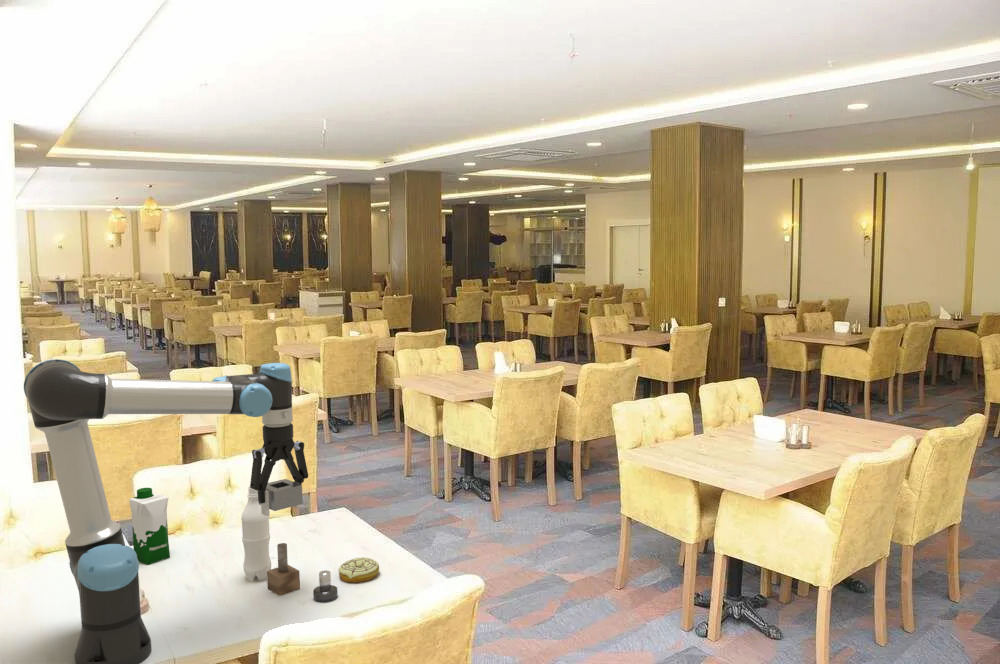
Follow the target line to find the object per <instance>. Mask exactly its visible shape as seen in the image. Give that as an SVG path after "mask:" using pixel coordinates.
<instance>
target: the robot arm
mask: <svg viewBox="0 0 1000 664" xmlns="http://www.w3.org/2000/svg"><path fill="white" fill-rule="evenodd" d="M292 383H293V378H292V371H291V366H290V365H289V364H287V363H284V362H272V363H271V362H269V363H264V364H261V366H260V369H259V372H256V373H251V374H250V373H248V374H235V375H223V376H217V377H214V378H213V379H212V381H211V380H181V379H178V380H172V379H168V380H167V379H133V378H129V379H128V378H111V377H110V376H109V375H107V374H106V373H94V372H87V371H83V370H81V369H80V367H78V366H77V365H76V364H74V363H72V362H71V361H69V360H64V359H57V358H55V359H48V360H43V361H41V362H39V363H37V364H36V365H35V366H33V368H31V369H30V370H29V372H28V373H27V375H26V376H25V378H24V381H23V391H24V392H23V393H24V394H25V397H26V399H27V401H28V406H29V410H30V413H31V418H32V421H33V425H34V428H35V429H37V430H39V431H41V432H43V434H44V436H45V438H46V443H47V447H48V450H49V455H50V459H51V463H52V467H53V471H54V473H55V478H56V481H57V486H58V489H59V490H58V491H59V493H60V497H61V500H62V501H61V502H62V504H63V509H64V513H65V517H66V521H67V525H68V528H69V529H68V530H69V534H68V536H67V537H66V538H65V540H64V544H65V546H66V550H67V551H66V552H67V556H68V559H69V563H68V564H69V568H70V571H71V574H72V576H73V578H74V580H75V584H76V586H77V587H76V588H77V590H78V595H79V607H80V609H79V610H80V620H81V621H80V622H81V623H80V624H81V630H80V634H79V637H78V641H77V644H76V647H75V651H74V657H73V659H74V664H140V663H141V662H143V661H144V660H146V659H147V658H148V657H149V655H150V654H151V653H152V640H151V639H152V638H151V637H150V634H149V631H148V629H147V627H146V625H145V623H144V621H143V618H142V615H141V614H142V613H141V597H140V595H141V594H140V580H139V570H140V562H139V561H138V559H137V554H136V552H135V551H134V548H133V547H131V546H128V545H127V544H126V541H125V539H124V535H123V530H122V527H121V526H122V525H121V524H120V523H119V522H116V521H115V520H113V519H112V517H111V513H110V509H109V504H108V501H107V496H106V493H105V488H104V484H103V481H102V477H101V472H100V468H99V464H98V459H97V456H96V452H95V448H94V444H93V443H94V442H93V439H92V437H91V431H90V427H89V424H88V422H89V421H90V420H104V419H105V418H106V417H107V416H109V415H245V416H248V417H251V418H252V417H253V418H260V417H261V423H262V424H263V426H262V440H263V445H262V447H261V448H259V449H252V450H251V454H252V467H251V474H250V475H251V476H250V484H249V487H250V488H252V489H254V490H257V491H258V502H259V503H261V514H263V515H265V516H269V517H270V509H269V491H268V490H266V487H267V484H268V483H269V481H270V477H271V475H272V471H273V469H274V466H275V465H276V463H277V462H279V461H281V460H283V461H284V462H285V465H286V466H287V469H288V471H289V473H290V475H291V477H292V479H293V480H294V481H293V482H295V483H298V484H301V485H302V486H303V483H304V481H305V480H306V479H308V478H309V473H308V467H307V466H308V465H307V463H306V462H307V461H306V457H305V451H304V449H305V442H302V441H301V440H296V441H294V439H293V438H294V425H293V422H294V421H293V419H294V418H293V387H292V385H293V384H292ZM293 450H294V453H295V454H294V455H295V458H296V459H295V460H296V462H295V460H294V456H293V453H292V451H293ZM264 454H265V455H266V456H265V458H264ZM263 458H264V464H263ZM292 508H295V509H300V508H301V504H300V505H296V506H293V507H292Z"/></svg>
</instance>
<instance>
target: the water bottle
mask: <svg viewBox="0 0 1000 664" xmlns="http://www.w3.org/2000/svg"><path fill="white" fill-rule="evenodd" d="M247 489H248V490H247V491H248V493H247V495H246V496H247V498H248V499H247V502H246V505H245V507H244V509H243V511H242V514H241V519H240V520H241V529H242V532H241V533H242V535H241V536H242V537H241V541H242V545H243V548H244V561H243V564H242V565H243V572H244V574H245V577H246V578H247V580H249V581H251V582H252V581H254V580H255V579H256V577H257V579H258V581H264V580H265V579H267V571H268V570H271V569H272V561H271V556H270V539H271V533H270V516H265V515H263V514H261V505H259V502H258V491H257V490H254V489H252V488H250V486H248V488H247Z"/></svg>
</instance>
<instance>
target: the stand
mask: <svg viewBox="0 0 1000 664" xmlns="http://www.w3.org/2000/svg"><path fill="white" fill-rule="evenodd" d="M276 547H277V567H274V568H271V570H268V571H267V577H266V581H267V582H266V583H267V590H268V591H269V592H271V593H272V594H275V595H277V596H278V597H282V596H284V595H287V594H290V593H292V592H296V591H298V590H301V580H300V578H301V577H300V576H301V575H300V570H299V569H298V568H295V567H294V566H291V565H290V564H289V563H288V543H285V542H280V543H278V544H277V545H276Z"/></svg>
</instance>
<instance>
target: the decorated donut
mask: <svg viewBox="0 0 1000 664" xmlns="http://www.w3.org/2000/svg"><path fill="white" fill-rule="evenodd" d="M379 571H380V564H379V562H378V561H377V560H375V559H372V558H369V557H355V558H352V559H348V560H346V561H345V562H343V563H342V564H341V565H340V566H339V568H338V574H339V577H340V579H341V580H342V582H344V583H345V582H346V583H357V584H358V583H361V582H366V581H369V580H372V579H374V578H375V577H376V576H377V574H378V573H379Z"/></svg>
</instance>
